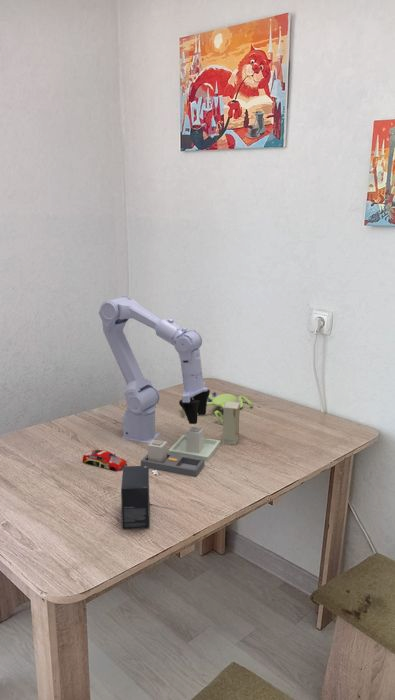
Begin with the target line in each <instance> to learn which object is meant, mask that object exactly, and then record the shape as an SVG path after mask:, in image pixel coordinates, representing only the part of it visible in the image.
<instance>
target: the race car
mask: <svg viewBox="0 0 395 700" xmlns="http://www.w3.org/2000/svg"><path fill="white" fill-rule="evenodd" d="M82 463H83V464H85V465H89V466H93V467H97V468H100V469H105V470H109V471H112V472H116V473H117V472H120V471H123V467H126V466H128V464H127V460H126V459H124V458H121V457H120V456H118V455H116V453H112V452H110V451H107V450H103V449H92V450H88V451H86V452H85V453H84V454H83V457H82Z"/></svg>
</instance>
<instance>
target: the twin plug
mask: <svg viewBox="0 0 395 700" xmlns="http://www.w3.org/2000/svg"><path fill="white" fill-rule="evenodd" d="M167 453H168V441H166V440H165V441H164V440H159V439H154V440H153V441H152V442H151V443H148V445H147V454H148V461H153V462H159V463H164V462H165V460H166V459H167Z"/></svg>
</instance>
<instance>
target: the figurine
mask: <svg viewBox="0 0 395 700" xmlns="http://www.w3.org/2000/svg"><path fill="white" fill-rule="evenodd" d="M237 399H238V402H240V409H242V408H243V406H244V402H246V403H247V404H248V406H249V408H253V407H254V404H253V403H252V402H251V401H250V400H249V399H248V398H247V397H246V396H243V395H239V396H238V398H237V396H235V394H231V393H222V394H218V395H217V392H212V393H209V396H208V399H207V406H216V407H220V408H219V410H221V411H224V406H225V403H226V401H230V402H237ZM243 401H244V402H243ZM207 406H206V407H207ZM181 410H182V411H183V412H184V410H183V408H182V407H181ZM219 410H215V411H214V412H213V413H214V416H215V417H216V418H217V419H218V421H219V422H220V424H221V425H222V426H223V413H222V412H221V411H219ZM219 416H220V417H219Z"/></svg>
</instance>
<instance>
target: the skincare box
mask: <svg viewBox="0 0 395 700" xmlns="http://www.w3.org/2000/svg"><path fill="white" fill-rule="evenodd" d="M240 409H241V408H240V402H239V401H236V402H230V401H226V403H225V406H224V410H222V411H223V413H222V415H223V419H222V422H223V425H222V441H221V442H222V445H228V446H237V444H238V441H239V435H240V433H239V432H240V411H241V410H240Z"/></svg>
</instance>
